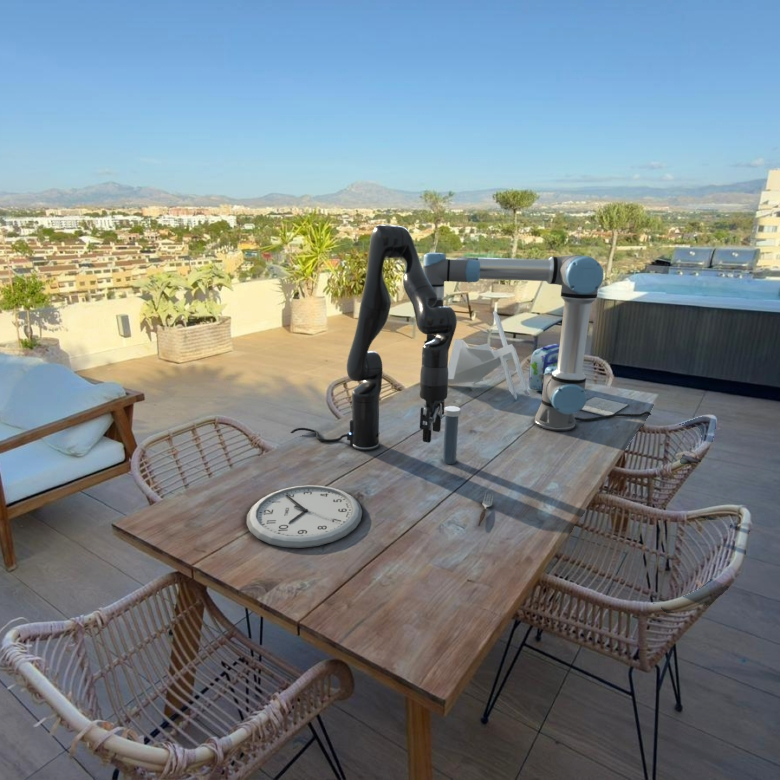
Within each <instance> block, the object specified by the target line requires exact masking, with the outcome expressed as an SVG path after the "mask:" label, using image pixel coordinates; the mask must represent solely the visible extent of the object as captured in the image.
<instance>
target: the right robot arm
mask: <svg viewBox="0 0 780 780" xmlns="http://www.w3.org/2000/svg"><path fill="white" fill-rule="evenodd" d="M422 264H423V265H422V268H423V271H424V273H425V275H426V277H427V278H428V280H429V282H430V283H431V285H432V287H433V288H434V290H435V292H436V294H437V302H436V304H435V305H434V306H433V307H443V306H444V299H443V298H444V297H445V282H447V283H449V282H452V283H453V282H457V283H468V284H470V283H477V282H479V281H480V280H495V281H497V280H499V281H500V280H501V281H526V282H527V281H531V282H546V283H547V284H548V285H557V286H561V289H560V298H561V299H562V300H563V303H564V305H563V313H562V322H561V330H560V339H559V345H560V346H559V355H558V364H557V366H553V367H547V368H546V369H545V373H544V382H543V392H542V391H541V393H542V394H541V402H540V405H539V407H538V410H537V411H536V413H535V417H534V424H535V425H536V426H537V427H539V428H542V429H544V430H549V431H556V432H567V431H572V430H574V429H575V428H576V421H581V422H591V421H596V420H602V419H609V418H615V417H642V416H644V415H648V416H652V413H651V412H650V411H648V410H645V411H644V412H641V413H614V414H612V415H606V416H604V415H600V416H595V417H588V418H587V417H586V418H584V417H577V416H575V414H576V413H579V412H580V411H582V410H581V409H582V408H583V407H584V406H585V404H586V401H588V397H587V392H586V389H585V388H586V383H587V382H586V381H587V375H586V374H585V373H584V371H583V369H584V361H585V355H586V347H587V339H588V338H587V337H588V330H589V324H590V318H591V317H590V316H591V308H592V303H593V302H594V301H596V300H597V298H598V294H599V293H598V291H599V288H601V285H602V284H603V281H604V269H603V267H602V265H601V264H600V262H599V261H597V260H596V259H595V258H594V257H592V256H587V255H581V254H574V255H573V254H572V255H565V256H551V257H549V258H548V259H545V258H544V259H543V258H542V259H541V258H540V259H539V258H501V257H500V258H497V257H496V258H495V257H494V258H492V257H466V256H460V257H457V258H455V259H451V258H449V259H448V258H447V257H446V253H444V252H427V253H425V254H424V255H423V263H422ZM435 337H436V334H431V335H426V340H424V342H423V343H424V344H426V343H428V342H430V341H432V340H434V339H435ZM424 344H423V345H424Z"/></svg>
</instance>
